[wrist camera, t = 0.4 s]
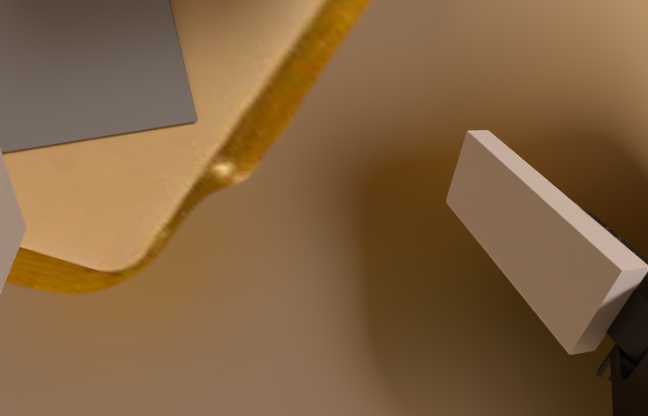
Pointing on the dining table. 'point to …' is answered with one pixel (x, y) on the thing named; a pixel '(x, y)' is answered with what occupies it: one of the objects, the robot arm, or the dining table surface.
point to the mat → (88, 70)
